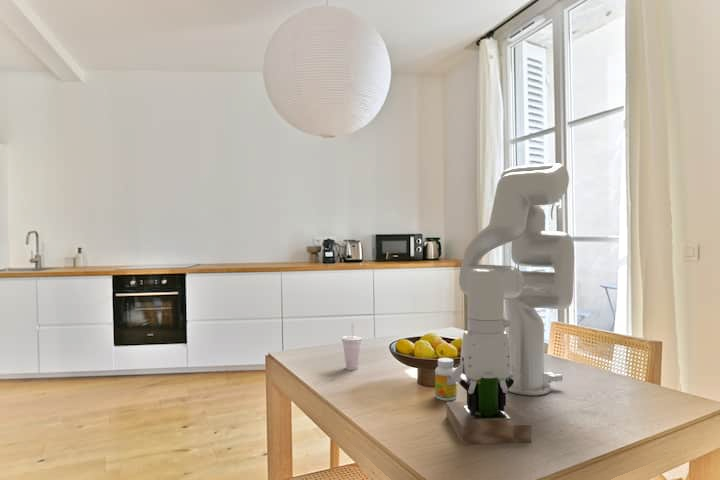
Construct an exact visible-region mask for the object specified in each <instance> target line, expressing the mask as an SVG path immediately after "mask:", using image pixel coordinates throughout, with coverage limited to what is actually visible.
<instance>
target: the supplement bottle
mask: <svg viewBox="0 0 720 480" xmlns="http://www.w3.org/2000/svg"><path fill="white" fill-rule="evenodd" d="M454 363H455V362H454V359H453V358H449V357H440V358H438V359H437V367H436V368H435V370H434V375H435V377H434V384H435V386H434V390H435V392H434V393H435V398H436V399H438V400H441V401H446V402H450V401H454V400H456V399H457V390H458V389H457V382H456V381H455V380H454V379H453V378H452V377H451V375H452V373H453V372H454V371H455V370H456V368H455V367H453V366H454Z"/></svg>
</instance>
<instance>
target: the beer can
mask: <svg viewBox="0 0 720 480" xmlns="http://www.w3.org/2000/svg"><path fill="white" fill-rule="evenodd" d="M484 374H485V375H483V376H482V377H481V379H480V380H477V383H476V386H475V389H474V393H475V394H476V412H474V417H475V418H499V380H498V378H497V376H496V375H495V373H484Z"/></svg>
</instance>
